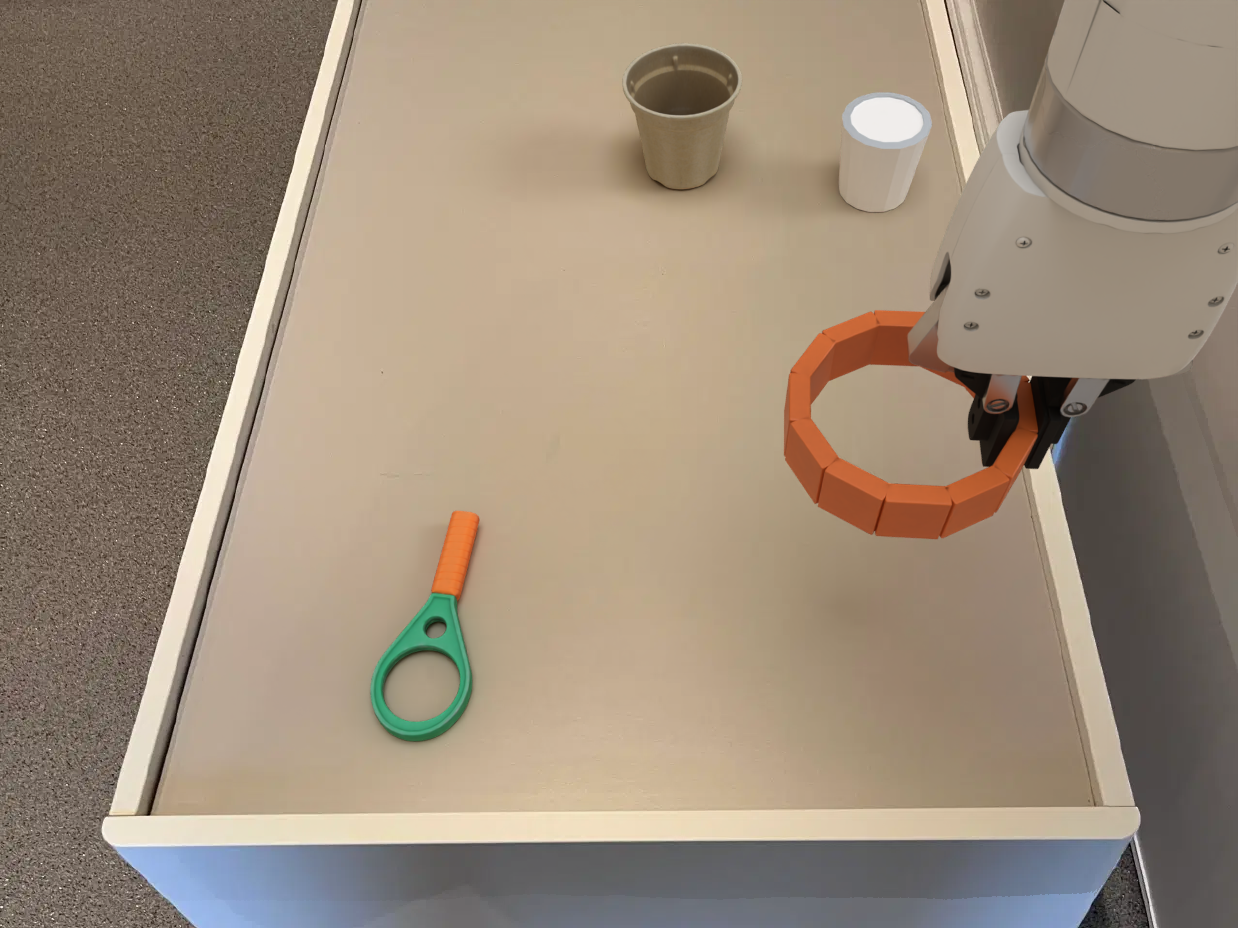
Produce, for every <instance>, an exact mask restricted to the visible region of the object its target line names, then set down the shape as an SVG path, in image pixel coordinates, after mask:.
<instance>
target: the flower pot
mask: <svg viewBox="0 0 1238 928" xmlns="http://www.w3.org/2000/svg"><path fill="white" fill-rule="evenodd" d="M621 80H622V81H621V85H622V91H623V93H624V96H625V98H626V100H627V101H628V102H629V105H630V107H631V110H632V112H633V113H634V115H635V120H636V125H637V129H638V135H639V139H640V143H641V148H642V152H643V153H642V154H643V158H644V164H645V169H646V172H647V174H648V176H649V177H650V179H652V180H653V181H657V182H658V183H660V184H661V185H663V186H664V187H665V188H669V189H673V190H689V189H694V188H698V187H700V186H703V185H705V183H706V182H708V181H709V180H710V179H711V178H712V177H714V176H715V175H716V174H717V173H718V171H719V167H720V161H721V157H722V156H721V155H722V151H723V146H724V141H725V135H726V132H727V126H728V122H729V118H730V117H729V116H730V111H731V110H732V108H733V106H734V104H735V100H736V99H737V97H738V96H739V94H740V93H741V90H742V86H743V74H742V72H741V69H740V67H739V65H738V64H737V62H736V61H735V60H734V59H733V58H732V57H731V56H729V55H728V54H726V53H725V52H723V51H721V50H719V49H718V48H714V47H712V46H709V45H706V44H705V45H704V44H700V43H693V42H692V43H691V42H681V43H680V42H679V43H677V42H675V43H669V44H665V45H661V46H657V47H655V48H651V49H649V50H647V51H645V52H643V53H641V54H640V55H638V56H636V58H634V59H633V60H632V61H631V62H630V63H629V64H628V65H627V67H626V68H625V71H624V72H623V74H622V79H621Z"/></svg>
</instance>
